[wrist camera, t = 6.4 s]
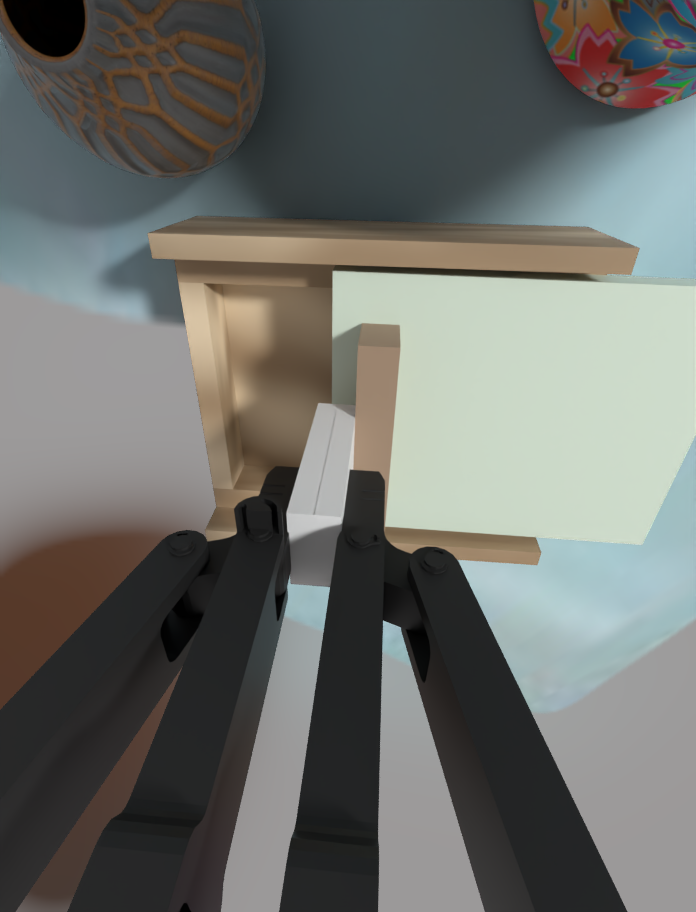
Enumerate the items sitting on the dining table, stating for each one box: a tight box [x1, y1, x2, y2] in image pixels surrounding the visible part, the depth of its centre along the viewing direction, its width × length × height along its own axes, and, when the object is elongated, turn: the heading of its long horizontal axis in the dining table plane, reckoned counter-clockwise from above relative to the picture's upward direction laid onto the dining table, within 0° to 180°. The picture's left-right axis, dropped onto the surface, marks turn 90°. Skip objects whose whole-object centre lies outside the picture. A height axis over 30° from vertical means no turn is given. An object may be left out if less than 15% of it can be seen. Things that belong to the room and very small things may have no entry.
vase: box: [0, 0, 266, 178], centre depth 14 cm, size 7×7×9 cm
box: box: [148, 216, 640, 565], centre depth 21 cm, size 14×16×5 cm
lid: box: [332, 265, 696, 545], centre depth 19 cm, size 12×15×4 cm
